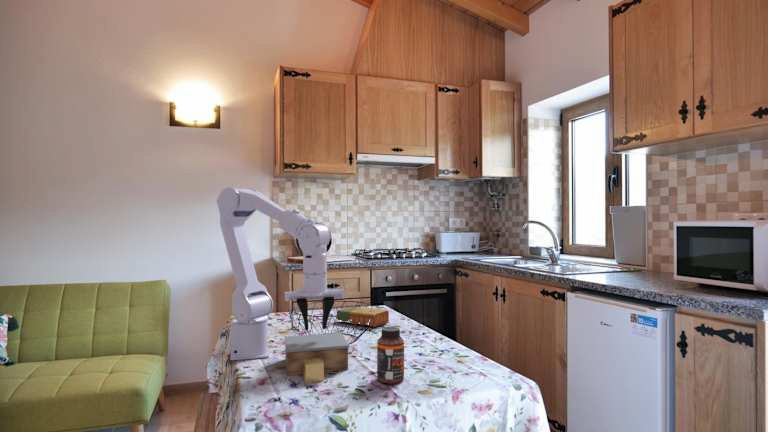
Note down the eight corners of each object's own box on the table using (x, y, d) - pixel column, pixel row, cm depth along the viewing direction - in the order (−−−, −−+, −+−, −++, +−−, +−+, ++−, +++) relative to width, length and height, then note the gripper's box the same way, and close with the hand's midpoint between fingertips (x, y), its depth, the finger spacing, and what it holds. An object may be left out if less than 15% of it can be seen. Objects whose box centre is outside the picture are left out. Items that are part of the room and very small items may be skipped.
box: (287, 375, 103) (287, 353, 103) (285, 358, 115) (285, 339, 115) (348, 369, 106) (347, 348, 106) (340, 354, 118) (340, 335, 118)
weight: (305, 383, 98) (305, 365, 98) (303, 376, 102) (303, 358, 102) (324, 381, 99) (323, 363, 99) (320, 374, 104) (320, 357, 104)
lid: (286, 352, 103) (286, 350, 103) (284, 338, 115) (284, 336, 115) (349, 347, 106) (348, 345, 106) (340, 334, 118) (340, 332, 118)
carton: (374, 327, 144) (374, 314, 144) (335, 322, 153) (335, 309, 153) (389, 322, 151) (388, 309, 151) (351, 317, 160) (350, 305, 160)
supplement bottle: (395, 386, 96) (395, 333, 96) (372, 381, 99) (371, 329, 99) (409, 378, 101) (408, 327, 101) (386, 373, 104) (386, 324, 104)
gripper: (285, 276, 105) (285, 334, 105) (347, 274, 108) (347, 330, 108) (284, 272, 112) (284, 327, 112) (342, 270, 115) (342, 323, 115)
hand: (315, 328), depth 111 cm, fingers open, 4 cm apart
